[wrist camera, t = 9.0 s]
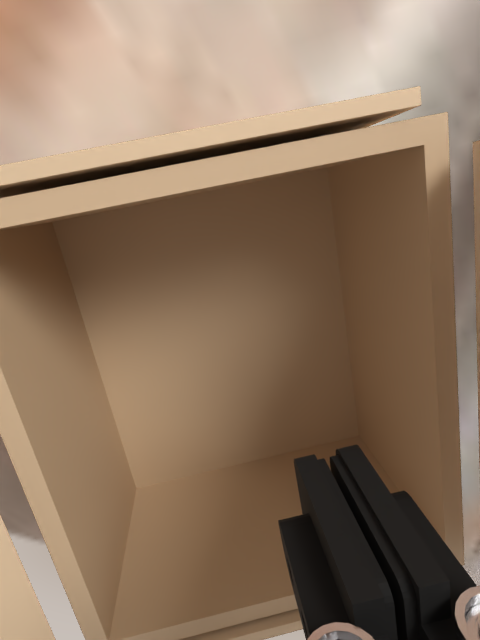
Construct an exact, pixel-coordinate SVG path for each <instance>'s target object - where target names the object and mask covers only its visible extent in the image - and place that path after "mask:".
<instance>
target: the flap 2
mask: <svg viewBox="0 0 480 640" xmlns="http://www.w3.org/2000/svg"><path fill="white" fill-rule="evenodd" d="M473 181H474V229H475V276H476V324H477V372H478V419H479V467H480V140H479V141H475V142H473Z"/></svg>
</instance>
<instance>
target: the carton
mask: <svg viewBox="0 0 480 640" xmlns="http://www.w3.org/2000/svg"><path fill="white" fill-rule="evenodd" d="M420 105H421V92H420V86H419V87H413V88H408V89H403V90H397V91H392V92H387V93H382V94H376V95H371V96H366V97H360V98H355V99H350V100H344V101H339V102H334V103H328V104H323V105H318V106H313V107H307V108H302V109H297V110H291V111H286V112H281V113H275V114H270V115H265V116H259V117H254V118H249V119H244V120H238V121H233V122H228V123H222V124H217V125H212V126H206V127H201V128H196V129H190V130H185V131H180V132H175V133H169V134H164V135H159V136H153V137H148V138H143V139H137V140H132V141H127V142H121V143H116V144H111V145H106V146H100V147H95V148H90V149H84V150H79V151H74V152H68V153H63V154H58V155H52V156H47V157H42V158H37V159H31V160H26V161H21V162H15V163H10V164H5V165H0V435H1V437H2V439H3V442H4V444H5V447H6V449H7V452H8V454H9V456H10V459H11V461H12V464H13V466H14V468H15V471H16V473H17V476H18V478H19V480H20V483H21V485H22V488H23V490H24V493H25V495H26V497H27V500H28V502H29V505H30V507H31V509H32V512H33V514H34V517H35V519H36V522H37V524H38V526H39V529H40V531H41V534H42V536H43V538H44V541H45V543H46V546H47V548H48V550H49V553H50V555H51V558H52V560H53V563H54V565H55V567H56V570H57V572H58V575H59V577H60V580H61V582H62V584H63V587H64V589H65V591H66V594H67V596H68V599H69V601H70V604H71V606H72V608H73V611H74V613H75V616H76V618H77V620H78V623H79V625H80V628H81V630H82V633H83V635H84V637H85V639H86V640H263V639H267V638H271V637H274V636H278V635H282V634H286V633H290V632H294V631H297V630H301V629H303V626H302V622H301V618H300V614H299V610H298V607H297V603H296V599H295V595H294V591H293V587H292V584H291V580H290V576H289V572H288V567H287V563H286V559H285V554H284V549H283V545H282V539H281V534H280V529H279V524H278V520H282V519H286V518H290V517H294V516H299V515H303V514H302V508H301V503H300V497H299V491H298V485H297V479H296V473H295V467H294V459H296V458H300V457H304V456H309V455H313V454H314V455H315V456H316V457H317V460H318V459H322V458H324V459H325V460H326V462H327V464H328V466H329V468H330V470H331V467H330V457H331V456H335V455H336V449H339V448H343V447H348V446H352V445H358V446H359V447H360V448H361V450H362V451H363V453H364V454H365V456H366V457H367V459H368V460H369V462H370V463H371V465H372V466H373V468H374V469H375V471H376V472H377V474H378V475H379V476H380V478H381V479H382V481H383V482H384V484H385V485H386V487H387V488H388V490H389V491H390V493H395V492H399V491H406V492H407V493H408V494H409V495H410V496H411V497H412V499H413V500H414V501H415V503H416V504H417V505H418V507H419V508H420V510H421V511H422V512H423V514H424V515H425V516H426V518H427V519H428V520H429V522H430V523H431V524H432V526H433V527H434V529H435V530H436V531H437V533H438V534H439V535H440V537H441V538H442V539H443V541H444V542H445V543H446V545H447V546H448V548H449V549H450V550H451V552H452V553H453V554H454V556H455V557H456V558H457V560H458V561H459V562H460V564H461V565H464V540H463V513H462V486H461V459H460V431H459V404H458V377H457V350H456V323H455V295H454V268H453V241H452V214H451V186H450V159H449V132H448V112H445V113H439V114H434V115H429V116H424V117H419V118H414V119H408V120H403V121H398V122H393V123H388V124H382V125H377V126H372V127H369V126H371V125H373V124H376V123H378V122H381V121H383V120H386V119H388V118H391V117H393V116H395V115H398V114H400V113H403V112H405V111H408V110H410V109H413V108H415V107H417V106H420ZM366 127H367V128H366Z"/></svg>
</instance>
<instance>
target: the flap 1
mask: <svg viewBox="0 0 480 640" xmlns="http://www.w3.org/2000/svg"><path fill="white" fill-rule="evenodd" d="M0 640H55V637H54V635H53V633H52V630H51V628H50V626H49V624H48V621H47V619H46V617H45V615H44V613H43V610H42V608H41V606H40V603H39V601H38V599H37V597H36V594H35V592H34V590H33V588H32V585H31V583H30V581H29V578H28V576H27V574H26V572H25V569H24V567H23V565H22V563H21V561H20V558H19V556H18V554H17V551H16V549H15V547H14V545H13V542H12V540H11V538H10V536H9V533H8V531H7V529H6V527H5V524H4V522H3V520H2V518H1V515H0Z"/></svg>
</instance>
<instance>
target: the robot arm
mask: <svg viewBox="0 0 480 640" xmlns="http://www.w3.org/2000/svg"><path fill="white" fill-rule="evenodd" d="M294 467H295V473H296V479H297V485H298V491H299V497H300V503H301V508H302V514H303V515H299V516H294V517H290V518H286V519H282V520H278V524H279V529H280V534H281V539H282V545H283V549H284V554H285V559H286V563H287V567H288V572H289V576H290V580H291V584H292V587H293V591H294V595H295V599H296V603H297V607H298V610H299V614H300V618H301V622H302V626H303V630H304V633H305V637H306V640H480V586H476V584H475V583H474V582H473V580H472V579H471V577H470V576H469V575H468V573H467V572H466V571H465V569H464V568H463V567H462V565H461V564H460V562H459V561H458V560H457V558H456V557H455V556H454V554H453V553H452V552H451V550H450V549H449V548H448V546H447V545H446V543H445V542H444V541H443V539H442V538H441V537H440V535H439V534H438V533H437V531H436V530H435V529H434V527H433V526H432V524H431V523H430V522H429V520H428V519H427V518H426V516H425V515H424V514H423V512H422V511H421V510H420V508H419V507H418V505H417V504H416V503H415V501H414V500H413V499H412V497H411V496H410V495H409V494H408V493H407V492H406V491H399V492H395V493H390V491H389V490H388V488H387V487H386V485H385V484H384V482H383V481H382V479H381V478H380V476H379V475H378V474H377V472H376V471H375V469H374V468H373V466H372V465H371V463H370V462H369V460H368V459H367V457H366V456H365V454H364V453H363V451H362V450H361V448H360V447H359V446H358V445H352V446H348V447H343V448H339V449H336V455H335V456H331V457H330V467H331V470H330V468H329V466H328V464H327V462H326V460H325V459H324V458H322V459H318V460H317V457H316V456H315V455H314V454H313V455H309V456H304V457H300V458H296V459H294Z"/></svg>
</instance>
